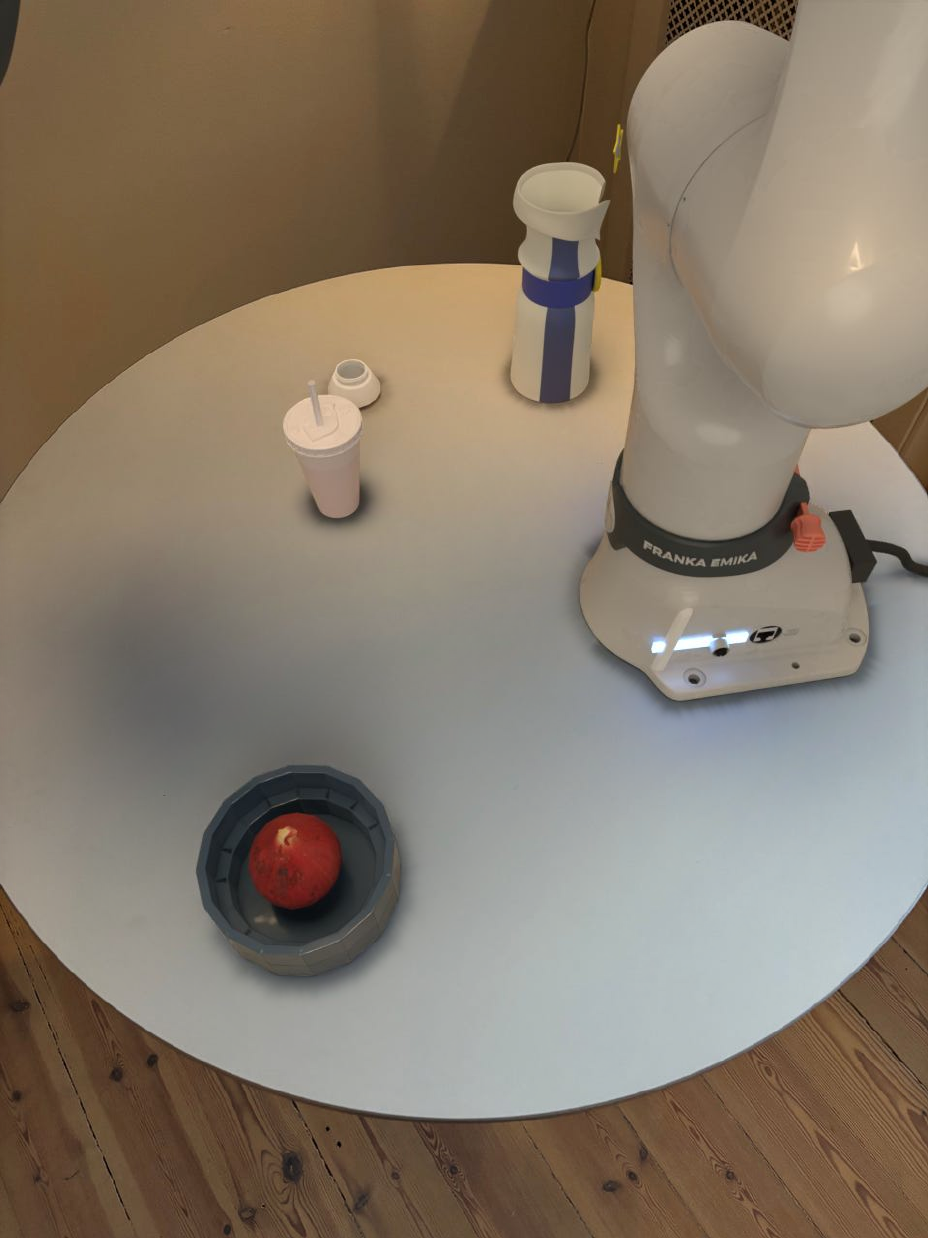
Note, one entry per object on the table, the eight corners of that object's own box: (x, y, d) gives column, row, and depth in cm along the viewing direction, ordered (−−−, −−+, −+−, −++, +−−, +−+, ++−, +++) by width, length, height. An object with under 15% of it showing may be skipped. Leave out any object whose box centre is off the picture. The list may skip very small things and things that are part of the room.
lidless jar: (354, 418, 87) (391, 391, 89) (351, 395, 84) (388, 367, 86) (318, 395, 89) (355, 369, 91) (313, 371, 86) (351, 344, 88)
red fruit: (334, 931, 59) (314, 892, 52) (249, 913, 60) (220, 872, 53) (358, 846, 62) (343, 799, 56) (278, 830, 63) (253, 781, 56)
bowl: (407, 800, 65) (400, 766, 60) (393, 981, 58) (384, 958, 53) (236, 795, 65) (217, 762, 61) (202, 974, 58) (178, 951, 54)
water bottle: (586, 342, 92) (614, 82, 72) (599, 401, 87) (634, 139, 67) (504, 348, 92) (510, 88, 71) (513, 407, 87) (522, 146, 66)
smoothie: (291, 523, 79) (258, 400, 68) (315, 470, 83) (288, 344, 71) (362, 535, 79) (340, 413, 67) (383, 481, 82) (366, 356, 70)
